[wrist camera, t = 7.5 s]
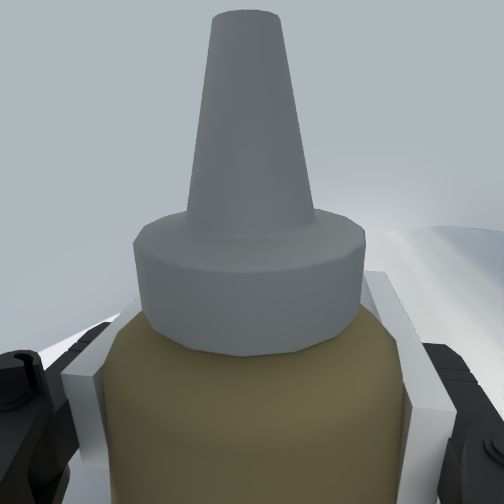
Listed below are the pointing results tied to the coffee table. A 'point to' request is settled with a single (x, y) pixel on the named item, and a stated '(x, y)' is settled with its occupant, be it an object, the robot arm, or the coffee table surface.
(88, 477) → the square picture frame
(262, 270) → the squeeze bottle
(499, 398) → the coffee table surface
